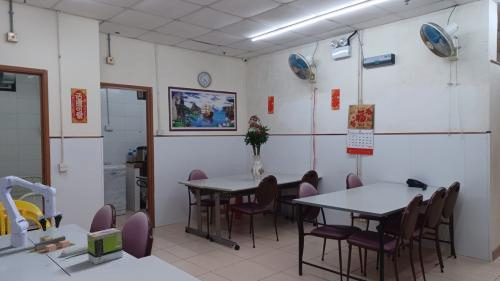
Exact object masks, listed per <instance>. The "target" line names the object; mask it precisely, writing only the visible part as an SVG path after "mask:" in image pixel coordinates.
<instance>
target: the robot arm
mask: <svg viewBox="0 0 500 281" xmlns="http://www.w3.org/2000/svg"><path fill="white" fill-rule="evenodd" d="M14 186H20V187H24V188H27V189H30V190H31V192H32V193H36V194H37V195H41V196H43V197H44V214H43V215H38V216H37V221H38V223H39V225H40V226H41V230H42V232H47V222H48V219H50V218H54V226H55V229H59V228H60V223H61V222H62V221H61V220H63V215H64V212H63V211H59V212H56V210H57V209H56V208H57V207H56V194H57V192H58V191H57V189H56V188H55V187H54V186H49V185H44V184H42V183H41V182H35V183H33V182H30V181H27V180H25V179H24V178H20V177H19V176H15V175H8V176H3V177H0V202H1V204H2V206H3V208H4V210H5V212H6V214H7V215H8V218H9V220H10V221H9V223H8V225H9V231H10V232H11V235H10V238H9V239H10V241H9V242H10V247H11V246H12V247H13V248H21V247H25V246H28V229H29V228H30V223H29V222H28V221H27V220H26V219H25V217H24V216H22V215H21V214H20V212H19V210H18V208H17V206H16V204H15V202H14V199H13V197H12V196H11V194H10V193H11V190H12V188H14Z"/></svg>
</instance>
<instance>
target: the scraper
mask: <svg viewBox="0 0 500 281" xmlns="http://www.w3.org/2000/svg"><path fill="white" fill-rule="evenodd" d="M64 240H66V236H65V235H62V236H58V237H55V238H54V237H53V236H49V235H44V236H39V242H36V243H34V247H35V251H40V250H43V249H45V246H47V245H50V244H55V245H56V246H57V245H59V242H61V241H64Z"/></svg>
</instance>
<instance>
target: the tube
mask: <svg viewBox="0 0 500 281" xmlns="http://www.w3.org/2000/svg"><path fill="white" fill-rule="evenodd" d="M86 254H88V243H86V244H82V245H79V246H74V247H71V248H67V249H63V250H62V252H61V253H60V256H61V257H62V258H64V260H68V259H72V258H75V257H78V256H83V255H86Z"/></svg>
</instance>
